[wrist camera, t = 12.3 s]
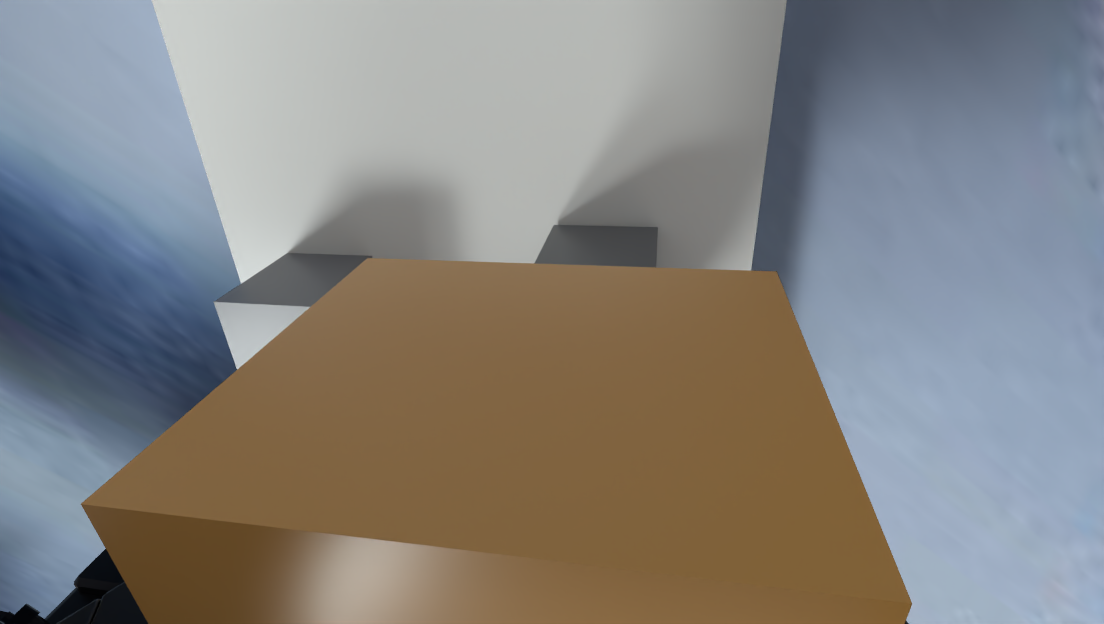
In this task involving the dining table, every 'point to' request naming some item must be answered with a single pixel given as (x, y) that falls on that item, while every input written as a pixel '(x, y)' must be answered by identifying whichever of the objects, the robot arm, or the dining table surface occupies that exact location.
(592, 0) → the board
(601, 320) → the orange block
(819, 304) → the dining table surface
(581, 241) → the block
